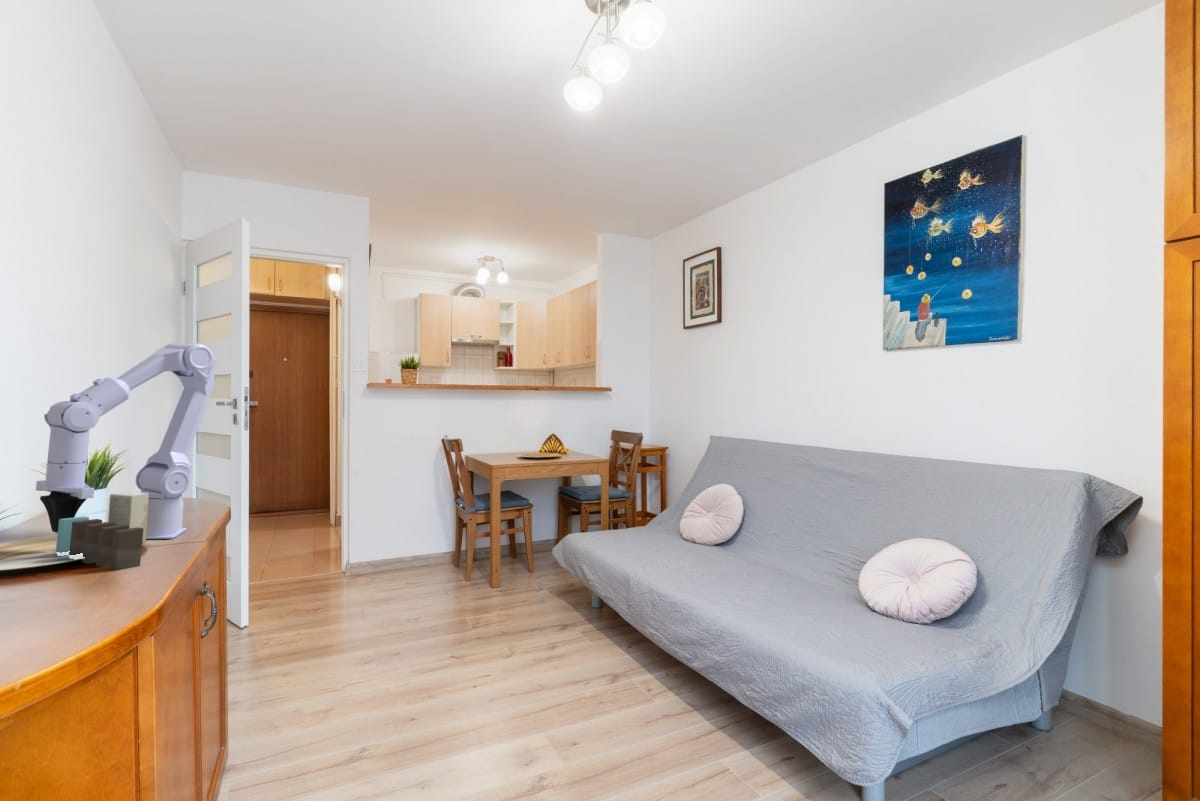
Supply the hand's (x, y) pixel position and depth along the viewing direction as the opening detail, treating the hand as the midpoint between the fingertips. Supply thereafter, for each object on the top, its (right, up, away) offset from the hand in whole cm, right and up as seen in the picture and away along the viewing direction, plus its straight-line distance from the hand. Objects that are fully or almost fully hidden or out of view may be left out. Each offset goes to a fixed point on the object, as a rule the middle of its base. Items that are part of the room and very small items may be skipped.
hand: (60, 531), depth 112 cm
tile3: (+11, -5, -4) cm, 12 cm away
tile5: (+18, -5, -7) cm, 20 cm away
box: (+7, -5, +6) cm, 11 cm away
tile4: (+15, -5, -5) cm, 16 cm away
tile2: (+7, -4, -3) cm, 9 cm away
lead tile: (+3, -4, -1) cm, 5 cm away
